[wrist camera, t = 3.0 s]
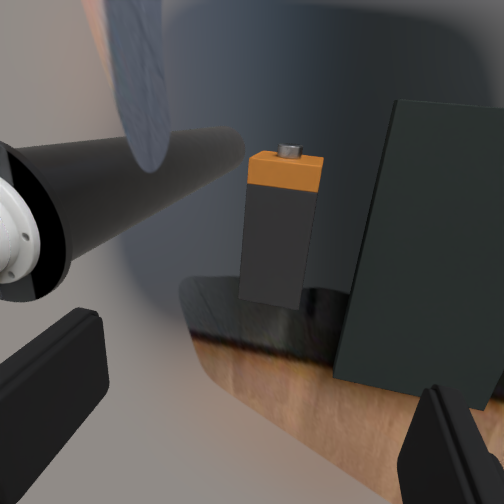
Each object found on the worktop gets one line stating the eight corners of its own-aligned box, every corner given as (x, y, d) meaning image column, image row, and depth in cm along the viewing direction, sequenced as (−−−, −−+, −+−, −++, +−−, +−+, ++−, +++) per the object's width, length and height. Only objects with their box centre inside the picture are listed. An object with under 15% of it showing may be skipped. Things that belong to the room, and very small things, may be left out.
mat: (332, 368, 30) (332, 377, 29) (394, 99, 22) (397, 99, 20) (477, 399, 28) (483, 411, 27) (610, 118, 20) (627, 118, 18)
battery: (251, 273, 28) (237, 299, 24) (263, 138, 24) (249, 143, 20) (303, 282, 28) (298, 310, 24) (325, 145, 23) (324, 151, 19)
